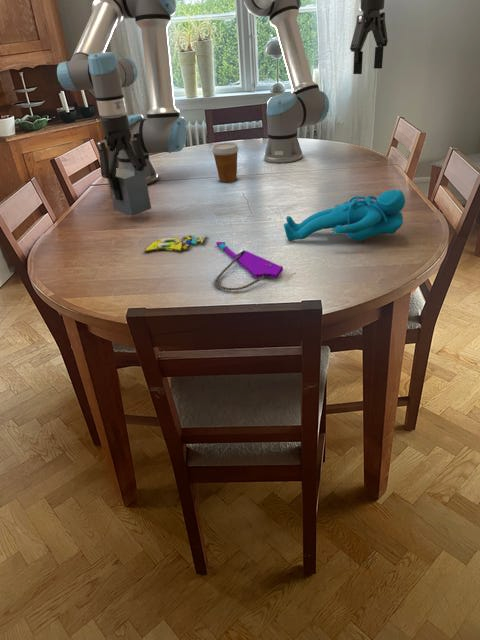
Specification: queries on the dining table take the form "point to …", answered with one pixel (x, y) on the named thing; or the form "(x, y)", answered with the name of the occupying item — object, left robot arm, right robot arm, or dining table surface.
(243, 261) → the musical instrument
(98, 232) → the dining table surface
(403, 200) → the toy
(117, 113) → the left robot arm
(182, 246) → the toy
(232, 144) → the disposable coffee cup
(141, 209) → the block
